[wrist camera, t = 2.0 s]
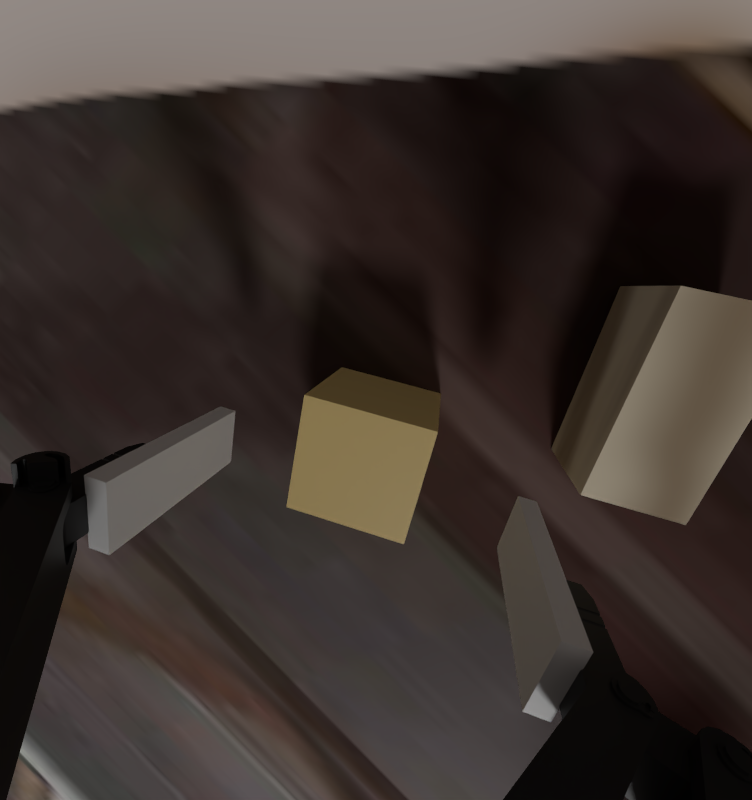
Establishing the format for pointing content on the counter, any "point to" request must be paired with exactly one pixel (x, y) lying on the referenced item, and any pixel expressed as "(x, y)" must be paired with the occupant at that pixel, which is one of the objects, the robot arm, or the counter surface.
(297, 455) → the ochre cube
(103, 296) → the counter surface
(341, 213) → the counter surface
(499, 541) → the robot arm
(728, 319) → the birch plinth
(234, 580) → the counter surface
